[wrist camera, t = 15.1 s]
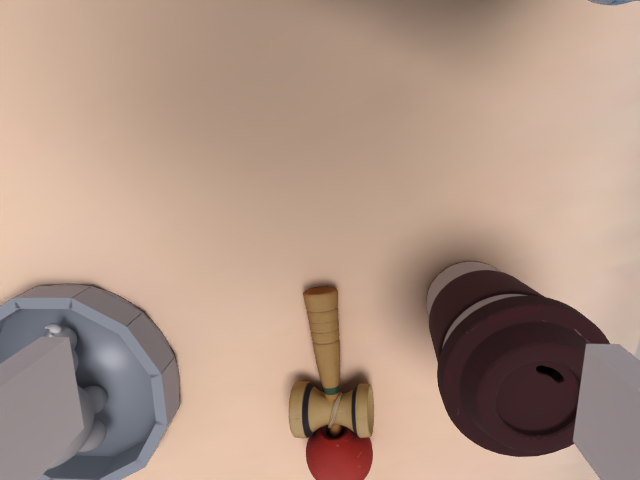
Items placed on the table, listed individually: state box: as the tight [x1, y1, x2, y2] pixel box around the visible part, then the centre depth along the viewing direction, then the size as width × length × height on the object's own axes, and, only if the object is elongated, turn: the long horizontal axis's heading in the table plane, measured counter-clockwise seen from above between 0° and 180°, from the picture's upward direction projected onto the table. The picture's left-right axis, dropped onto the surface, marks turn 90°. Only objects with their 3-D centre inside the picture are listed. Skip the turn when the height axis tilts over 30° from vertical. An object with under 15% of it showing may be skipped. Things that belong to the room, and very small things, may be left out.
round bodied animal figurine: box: [43, 323, 107, 470], centre depth 38 cm, size 7×12×8 cm, turn 1°
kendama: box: [289, 286, 374, 480], centre depth 39 cm, size 8×6×18 cm
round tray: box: [0, 284, 180, 480], centre depth 41 cm, size 19×19×4 cm
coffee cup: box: [426, 262, 610, 457], centre depth 31 cm, size 10×10×15 cm
